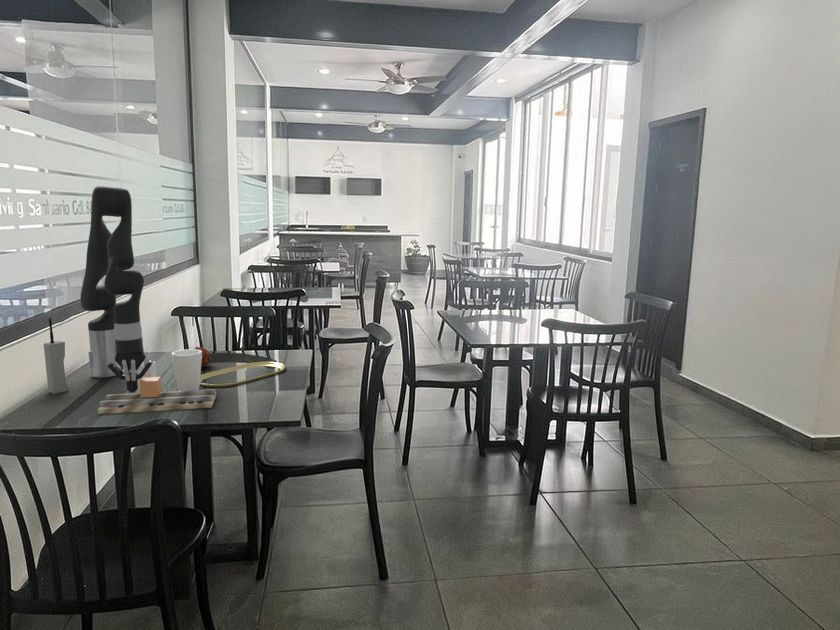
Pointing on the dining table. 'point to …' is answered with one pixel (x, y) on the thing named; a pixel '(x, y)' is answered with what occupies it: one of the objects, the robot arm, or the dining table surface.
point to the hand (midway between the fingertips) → (132, 391)
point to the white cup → (149, 373)
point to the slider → (150, 387)
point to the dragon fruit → (204, 356)
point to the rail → (158, 401)
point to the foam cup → (187, 368)
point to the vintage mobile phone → (55, 364)
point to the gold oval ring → (238, 369)
